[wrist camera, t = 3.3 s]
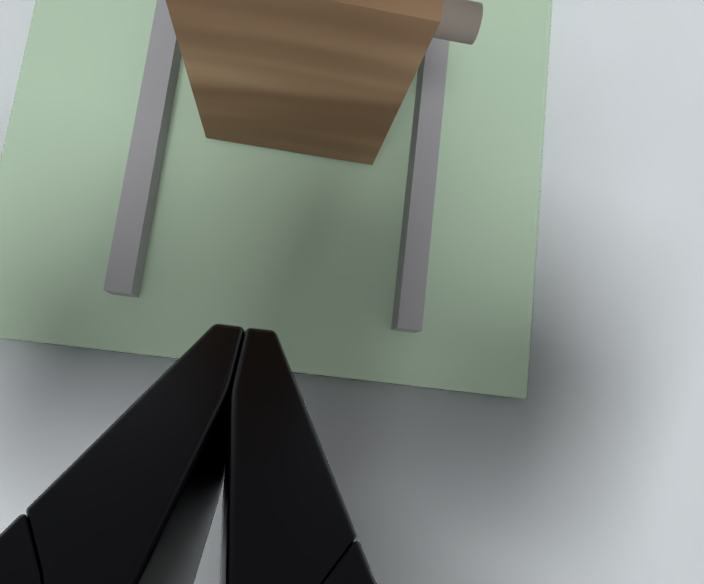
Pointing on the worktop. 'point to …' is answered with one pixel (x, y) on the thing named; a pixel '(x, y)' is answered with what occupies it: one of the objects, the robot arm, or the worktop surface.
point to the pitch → (275, 208)
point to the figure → (310, 67)
